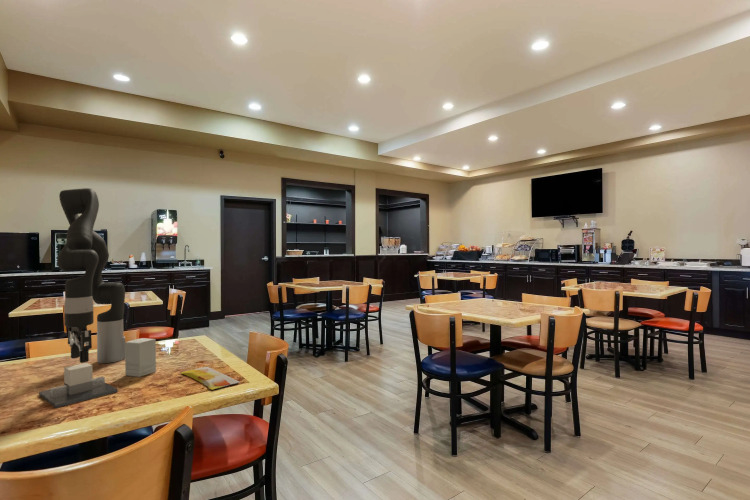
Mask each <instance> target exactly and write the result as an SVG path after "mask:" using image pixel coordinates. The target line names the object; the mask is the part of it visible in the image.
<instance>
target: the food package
mask: <svg viewBox="0 0 750 500" xmlns="http://www.w3.org/2000/svg"><path fill="white" fill-rule="evenodd" d="M180 374H182V375H185V376H187V377H189V378H191V379H193V380H195V381H197V382H199V383H201V384H202V385H204V386H206V387H207V388H208V389H209V390H216V389H220V388H224V387H227V386H231V385H235V384H239V383H240V381H239V380H237V379H234V378H232V377H231V376H228V375H226V374H224V373H222V372H220V371H217V370H215V369H214V368H211V367H208V366H204V367H200V368H199V367H198V368H195V369H190V370H187V371H186V370H185V371H181V372H180Z"/></svg>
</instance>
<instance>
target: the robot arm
mask: <svg viewBox="0 0 750 500" xmlns="http://www.w3.org/2000/svg"><path fill="white" fill-rule="evenodd" d="M58 197H59V202H60V206H61V208H62V210H63V213H64V215H65V217H66V219H67V221H68V224H69V227H68V228H67V231H66V241H65V244H64V246H63V248H62V249H61V251H60V252H59V254H58V257H57V261H56V263H57V266H58V268H59V269H60V270H61V271H63V272H84V274H83V275H81V276H79V277H75V278H69V279H68V280H66V281H65V282H64V284H65V285H64V293H65V295H64V304H63V305H64V306H63V307H64V308H63V309H64V314H63V315H64V318H63V320H64V327H66V328H67V344H68V346H69V347H70V358H71V359H77V358H79V364H83V363H88V362H89V357H90V354H89V353H90V350H92V347H93V346H92V344H93V343H92V342H93V341H92V330H91V329H89V330H88V327H87V326H90V325H93V324H94V303H95V304H97V305H110V308H109V309H108V310H106V311H104V312H100V313H98V314H97V316H96V354H97V355H96V361H97V363H99V364H109V363H115V362H119V361H122V360H125V342H126V336H124V314H125V300H126V289H125V286H124V284H123V283H122V282H105V281H104V280H103V277H102V276H103V275H102V273H103V271H104V268H105V266H106V265H107V264H108V260H109V257H110V254H109V253H110V252H109V250H108V246H107V243H106V241H105V240H104V238H103V237H102V236H101V235H100V234H98V233H97V232H96V231H94V226H95V223H96V219H97V216H98V213H99V209H100V208H99V207H100V203H99V202H100V201H99V198H98V195H97V192H96V191H95V190H94V189H93V188H87V187H85V188H75V189H63V190H60V192H59V196H58ZM80 214H81V215H80Z"/></svg>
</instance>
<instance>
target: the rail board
mask: <svg viewBox="0 0 750 500" xmlns="http://www.w3.org/2000/svg"><path fill="white" fill-rule="evenodd" d="M115 393H118V388H117V387H115V386H113V385H111V384H109V383H107V382H106V379H105V376H98V377H94V378H93V377H92V390H88V391H84V392H80V393H76V394H72V395H69V385H64V384H63V385H59V386H55V387H50V388H49V389H46V390H42V391H39V392H38V396H40V397H41V398H42V399H44V400H45V401H46V402H47V403H49V404H50V405H51V406H52V407H53V408H55V409H57V408H62V407H65V406H68V405H73V404H77V403H80V402H81V403H82V402H84V401H88V400H92V399H95V398H99V397H103V396H108V395H111V394H115Z"/></svg>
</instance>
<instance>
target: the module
mask: <svg viewBox="0 0 750 500" xmlns="http://www.w3.org/2000/svg"><path fill="white" fill-rule="evenodd" d="M63 379H64V381H63V383H64V384H63V385H69V395H72V394H76V393H80V392H84V391H88V390H92V379H93V365H92V364H90V363H88V362H85V363H79V364H75V365H69V366H65V367H63Z"/></svg>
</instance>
